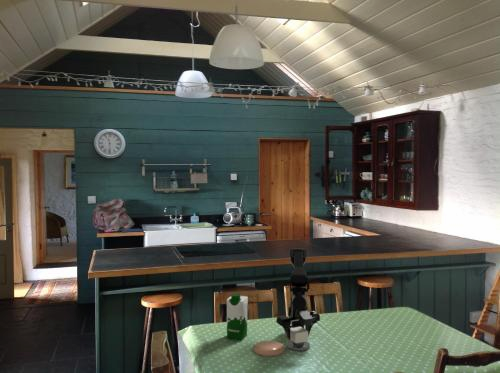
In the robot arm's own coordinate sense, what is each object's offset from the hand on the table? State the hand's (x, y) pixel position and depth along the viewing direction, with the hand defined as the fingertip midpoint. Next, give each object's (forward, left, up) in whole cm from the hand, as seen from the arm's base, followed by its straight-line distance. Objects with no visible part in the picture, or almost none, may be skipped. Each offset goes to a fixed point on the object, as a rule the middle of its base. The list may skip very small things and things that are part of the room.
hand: (298, 338), depth 186 cm
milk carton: (-20, -20, -4) cm, 28 cm away
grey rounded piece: (0, 0, -4) cm, 4 cm away
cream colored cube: (0, 0, -1) cm, 1 cm away
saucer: (-2, -13, -4) cm, 14 cm away
